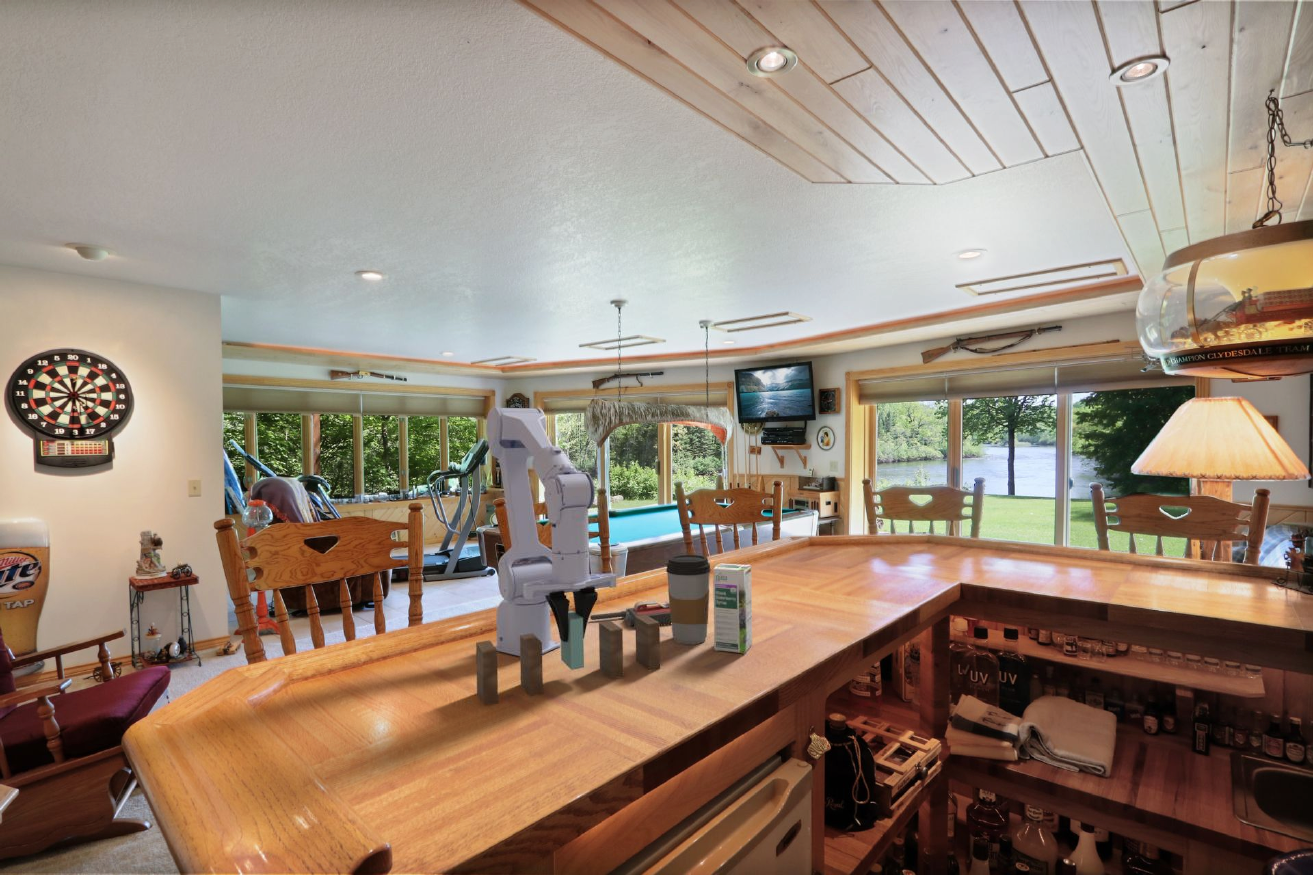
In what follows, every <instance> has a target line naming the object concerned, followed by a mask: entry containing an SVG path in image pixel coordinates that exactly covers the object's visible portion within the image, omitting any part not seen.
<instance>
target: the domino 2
mask: <svg viewBox="0 0 1313 875" xmlns="http://www.w3.org/2000/svg"><path fill="white" fill-rule="evenodd" d="M519 658H520V659H519V660H520V686H521V687H522V688H523V689H524V691H525V692H526V694H527V695H528V697H532V696H539V695H543V694H544V684H543V682H544V681H543V680H544V678H543V654H542V642H541V641H540V640H539V639H538V638H537V637H536V636H535V635H534V634H533V633H532V634H526V635H520V656H519Z"/></svg>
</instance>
